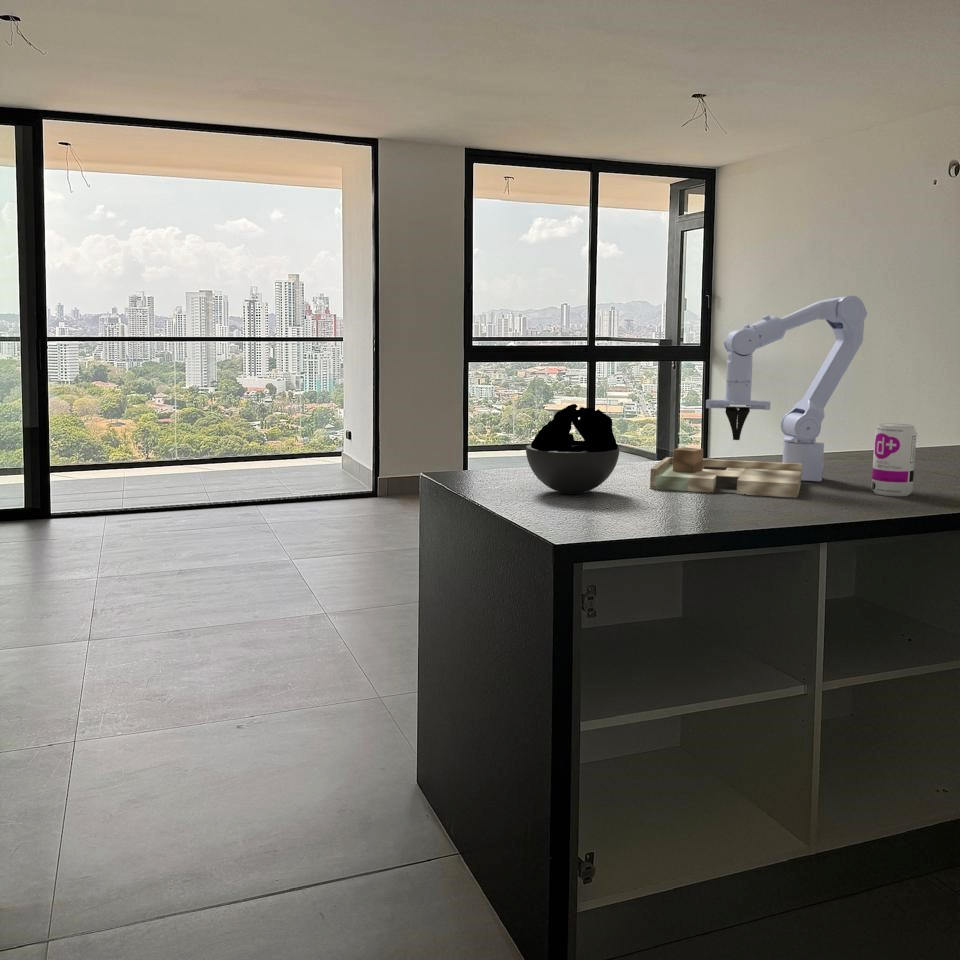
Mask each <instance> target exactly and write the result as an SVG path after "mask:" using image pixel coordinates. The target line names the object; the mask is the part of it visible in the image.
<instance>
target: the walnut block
mask: <svg viewBox="0 0 960 960" xmlns="http://www.w3.org/2000/svg"><path fill="white" fill-rule="evenodd" d="M672 452H673V455H672V457H673V471H676V472H686V473H696V472H699V471H702V469H703V459H704V449H703V448H698V447H697V448H696V447H695V448H694V447H684V446H683V447H678V448H675V449H673V451H672Z"/></svg>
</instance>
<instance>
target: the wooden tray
mask: <svg viewBox="0 0 960 960" xmlns="http://www.w3.org/2000/svg"><path fill="white" fill-rule="evenodd" d="M801 472H802V464H796V463H783V462H772V461H757V460H756V461H755V460H754V461H752V460H734V459H730V460H729V459H711V458H703V469H702V471H699V472H696V473H686V472H676V471H673V456H672V457H671V456H670V457H669V456H665V457H664V458H662V460H660V461H659V462H658V463H656V464H655V465H654V466H652V467H651V468H650V477H649V478H650V481H649V483H650V484H649V489H650V490H664V491H678V492H679V491H682V492H695V493H696V492H697V493H711V492H712V493H714V494H715V493H716V494H728V493H729V494H730V495H744V494H746V495H747V496H764V497H765V496H766V497H781V498H794V499H795V498H798V496H799V493H800V488H801V484H802V480H801ZM729 494H728V495H729ZM746 495H745V496H746Z"/></svg>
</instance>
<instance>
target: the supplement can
mask: <svg viewBox="0 0 960 960" xmlns="http://www.w3.org/2000/svg"><path fill="white" fill-rule="evenodd" d="M917 437H918V432H917V430H916V429H915V425H914V424H909V423H908V424H907V423H895V422H894V423H891V422H890V423H887V422H886V423H879V424H878V426H877V428H876V430H875V431H874V442H873V444H874V445H873V457H872V460H873V461H872V472H871V473H872V474H871V485H870V486H871V491H873V493H874V494H876V495H879V496H886V497H909V496H910V494H912V493H913V487H914V476H915V462H916V448H917V446H916V445H917Z"/></svg>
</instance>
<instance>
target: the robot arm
mask: <svg viewBox="0 0 960 960" xmlns="http://www.w3.org/2000/svg"><path fill="white" fill-rule="evenodd" d="M867 315H868V312H867V309H866V306H865V303H864V302H863V300H862V299H861V298H860V297H859V296H856V295H847V296H831V297H829V298H828V299H822V300H818V301H816V302H814V303H812V304H809V305H807V306H804V307H803V308H800V309H798V310H796V311H794V312H791V313H789V314H787V315H785V316H782V317H781V318H780V317H778V316H776V315H771V316H770V315H767V314H766V315H765V316H762V319H761V320H759V321H757V322H754V323H752V324H749V323H747V324H744V325H743V329H735V330H732V331H731V332H729V333H728V335H726V338H725V341H724V342H723V347H724V349H725V351H726V352H727V362H726V377H725V379H726V384H725V399H706V400H705V409H725V415H726V417H727V419H728V422H729V425H730V428H731V433H732V434H731V435H732V440H733V441H740V439H741V434H742V430H743V428H744V427H743V426H744V424H745V422H746V420H747V418H748V416H749V414H750V412H751V410H762V411H763V410H765V411H770V410H771V400H752V381H753V379H752V378H753V355H754V354H753V353H755V351H756V350H758V349H761V348H763V347H766V346H768V345H770V344H772V343H775V342H777V341H779V340H780V341H781V340H782V339H783V338H784V336H785V335H786V332H788V331H789V330H793V329H794V328H797V327H800V326H803V325H806V324H808V323H811V322H813V321H816V320H819V321H821V320H825V321H826V323H827V324H828V325H829V327H830V328H831V329H832V330H833V334H834V336H835V339H836V340H835V342H834V345H833V346H832V348H831V349H830V351H829V353H828V354H827V356H826V358H825V359H824V361H823V363H822V365H821V366H820V369H818V371H817V373H816V375H815V377H814V379H813V380H812V382H811V384H810V385H809V387H808V389H807V391H806V392H805V394H804V396H803V397H802V399H801V400H798V402H796V403H795V404H794V405H793V407H792V409H791V410H790V411H788V412H787V413H786V414H785V415H783V417H782V419H781V421H780V429H781V432H782V433H783V434H784V438H783V447H782V463H796V464H802V472H801V481H803V482H804V481H806V482H823V481H822V480H823V475H824V474H825V466H824V455H825V454H824V453H825V452H824V450H825V449H824V448H825V443H824V442H816V439H817V438H818V437H819V435H820V434H821V429H822V422H823V421H824V419H825V417H826V416H825V407H826V405H827V404H828V403H829V400H830V399H831V397H832V396H833V394H834V392H835V390H836V388H837V387H838V385H839V384H840V381H841V379H842V378H843V377H844V375H845V373H846V372H847V370H848V368H849V366H850V364H852V361H853V360H854V357H855V356H856V354H857V353H858V351H859V349H860V347H861V345H862V344H863V341H864V330H865V319H866V318H867Z"/></svg>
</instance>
